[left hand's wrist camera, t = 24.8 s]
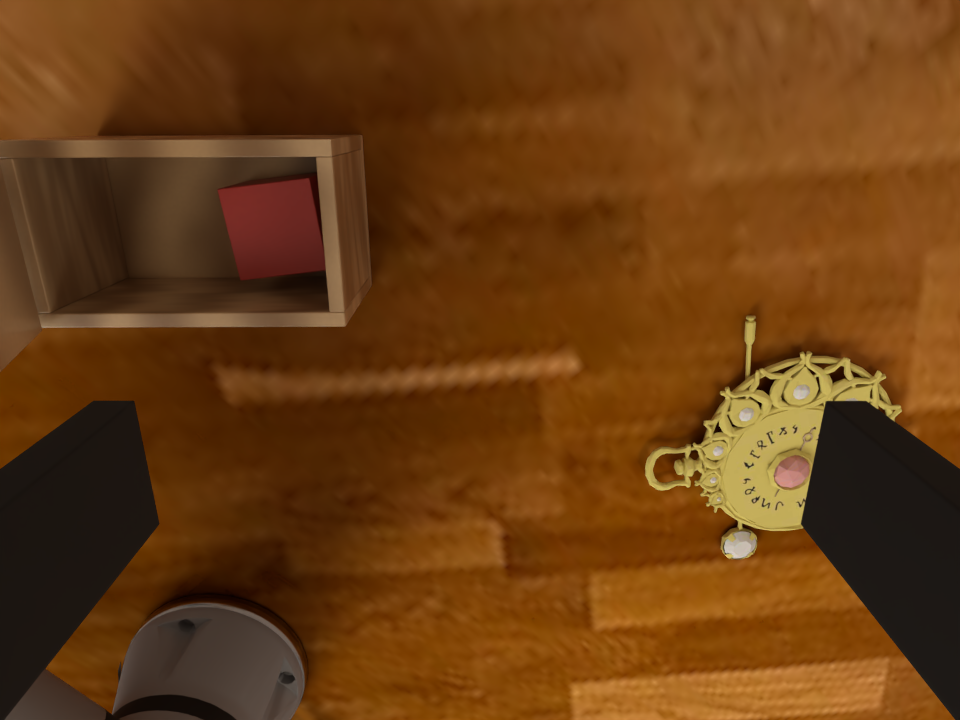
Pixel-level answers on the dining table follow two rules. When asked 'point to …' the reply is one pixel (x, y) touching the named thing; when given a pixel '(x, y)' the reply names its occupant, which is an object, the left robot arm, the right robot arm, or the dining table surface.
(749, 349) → the decorative object
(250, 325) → the chest
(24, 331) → the lid
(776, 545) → the dining table surface
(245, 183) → the block
